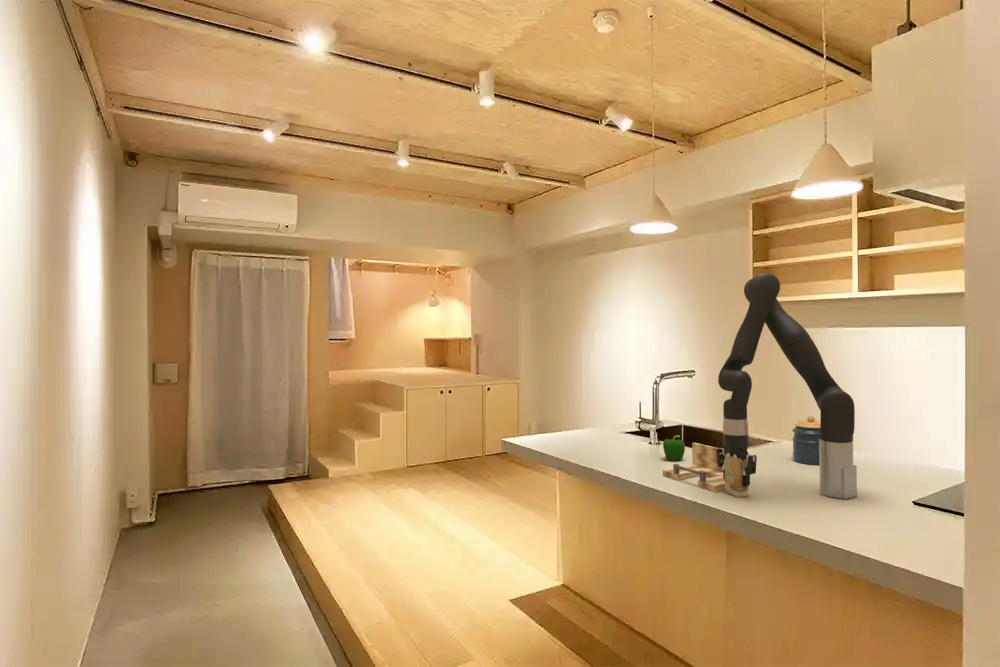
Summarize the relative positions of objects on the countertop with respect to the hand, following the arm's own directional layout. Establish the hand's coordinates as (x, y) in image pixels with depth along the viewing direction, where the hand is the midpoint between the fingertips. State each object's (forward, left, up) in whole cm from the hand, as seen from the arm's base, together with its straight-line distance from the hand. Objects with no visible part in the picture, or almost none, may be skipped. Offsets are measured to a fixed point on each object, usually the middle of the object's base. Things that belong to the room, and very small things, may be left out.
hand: (736, 483), depth 186 cm
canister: (+13, -57, -3) cm, 59 cm away
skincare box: (0, 0, -3) cm, 3 cm away
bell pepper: (+44, -16, -3) cm, 47 cm away
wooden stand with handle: (+17, -4, -3) cm, 18 cm away
